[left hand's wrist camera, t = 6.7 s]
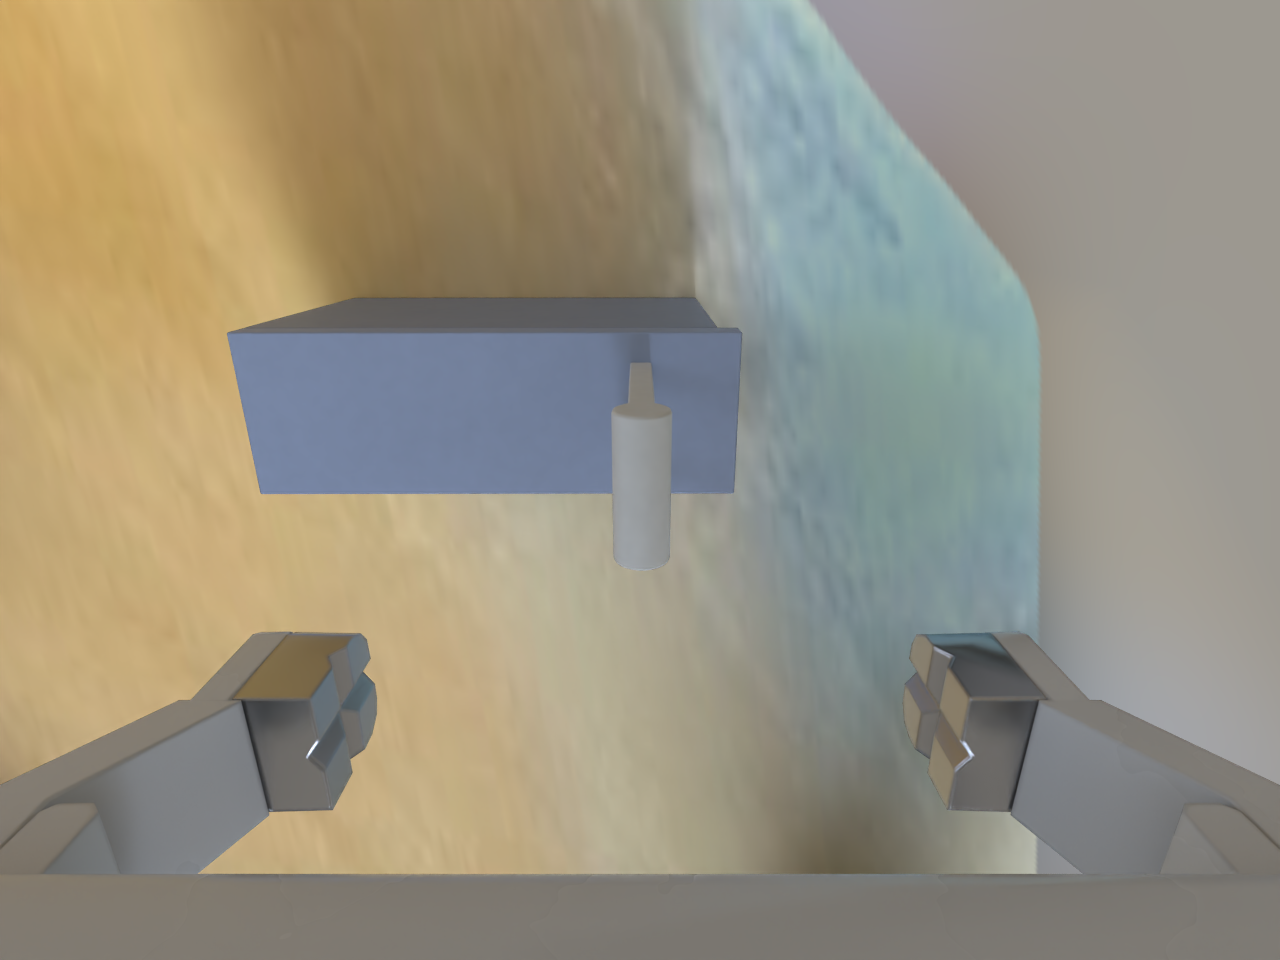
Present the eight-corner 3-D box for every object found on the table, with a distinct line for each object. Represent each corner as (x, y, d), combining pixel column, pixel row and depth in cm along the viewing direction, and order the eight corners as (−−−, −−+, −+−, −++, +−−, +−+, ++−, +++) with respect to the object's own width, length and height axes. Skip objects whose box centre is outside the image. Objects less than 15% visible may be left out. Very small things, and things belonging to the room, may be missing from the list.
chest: (696, 297, 32) (718, 327, 23) (692, 414, 34) (712, 483, 25) (353, 297, 32) (243, 327, 23) (370, 414, 34) (274, 484, 25)
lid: (738, 327, 23) (788, 380, 15) (730, 483, 25) (771, 600, 17) (242, 327, 23) (43, 382, 15) (274, 484, 25) (111, 601, 17)
